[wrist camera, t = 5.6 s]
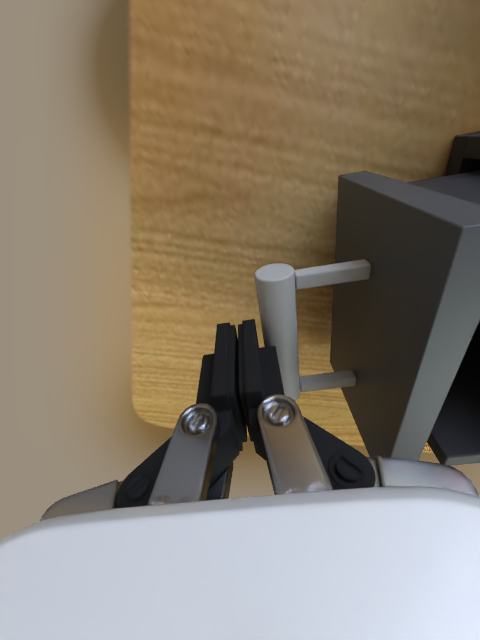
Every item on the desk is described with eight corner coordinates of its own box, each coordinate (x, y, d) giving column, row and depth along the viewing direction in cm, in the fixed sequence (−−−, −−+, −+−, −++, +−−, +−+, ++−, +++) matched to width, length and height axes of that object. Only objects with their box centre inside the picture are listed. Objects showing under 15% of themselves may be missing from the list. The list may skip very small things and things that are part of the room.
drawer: (267, 369, 19) (285, 494, 12) (242, 192, 12) (253, 260, 6) (542, 334, 17) (722, 453, 11) (679, 115, 11) (1330, 90, 4)
